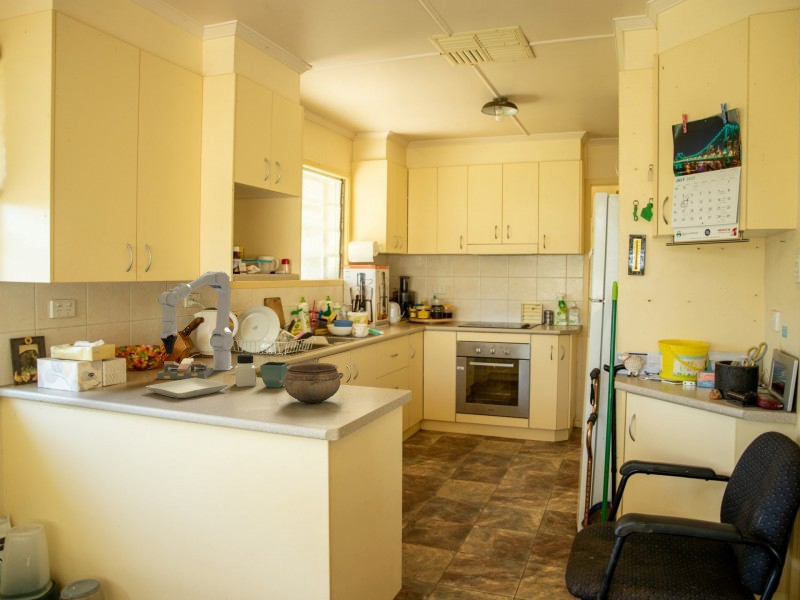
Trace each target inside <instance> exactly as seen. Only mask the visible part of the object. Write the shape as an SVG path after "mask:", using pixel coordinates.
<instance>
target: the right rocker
mask: <svg viewBox="0 0 800 600" xmlns="http://www.w3.org/2000/svg"><path fill="white" fill-rule="evenodd" d="M191 364H192V365H193V366H194V368H204V365H207V364H206V363H204V362H203V361H202V360H198V361H197V360H196V361H195V360H194V361H191Z"/></svg>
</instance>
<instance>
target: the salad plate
mask: <svg viewBox="0 0 800 600" xmlns="http://www.w3.org/2000/svg"><path fill="white" fill-rule="evenodd" d="M227 387H228V383H224V382H220V381H215V380H210V379H206V378H205V379H200V378H190V379H176V380H172V381H167V382H166V381H165V382H162V383H156V384H150V385H146V386H145V388H146V389H147V390H148V391H150V392H152V393H154V394H158V395H161V396H166V397H170V398H175V399H189V398H192V397H198V396H204V395H205V396H206V395H210V394H214V393H218V392H220V391H222V390H224V389H225V388H227Z"/></svg>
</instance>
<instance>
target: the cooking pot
mask: <svg viewBox="0 0 800 600" xmlns="http://www.w3.org/2000/svg"><path fill="white" fill-rule="evenodd" d="M286 368H287V369H288V371H287V374H286V376H285V380H284V381H282V380H280V381H279V383H281V384H284V385H283V387H284V389H285V391H286V393H287V394H288V396H290V397H292V398H294V399H295V400H297V401H298V402H300V403H302V404H303V405H320V404H322V403H323V402H325V401H326V400H329V399H330V398H331V397H333V396H334V395H336V394H337V392H338V391H339V389H340V388H341V379H342V378H343V377H344V373H343V372H338V368H339V366H338V365H337V364H335V363H329V362H328V363H327V362H301V363H295V364H294V363H293V364H289V366H287V367H286Z"/></svg>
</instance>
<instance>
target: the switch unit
mask: <svg viewBox="0 0 800 600" xmlns="http://www.w3.org/2000/svg"><path fill="white" fill-rule="evenodd" d="M178 367H179V365H177V368H170V367H168V366H166V365H165V364H164V365H163V370H160V371H159V372H157V373H156V375H157V380H175V379H176V380H184V379H190V378H200V379H206V378H208V377H209V376H211V375H213V374H214V370H213V368H214V367H208V364H206V365H204V368H197V367H195V366H193V365H191V366H190V368H189V370H188V371H187V372H177V369H178Z"/></svg>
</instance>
